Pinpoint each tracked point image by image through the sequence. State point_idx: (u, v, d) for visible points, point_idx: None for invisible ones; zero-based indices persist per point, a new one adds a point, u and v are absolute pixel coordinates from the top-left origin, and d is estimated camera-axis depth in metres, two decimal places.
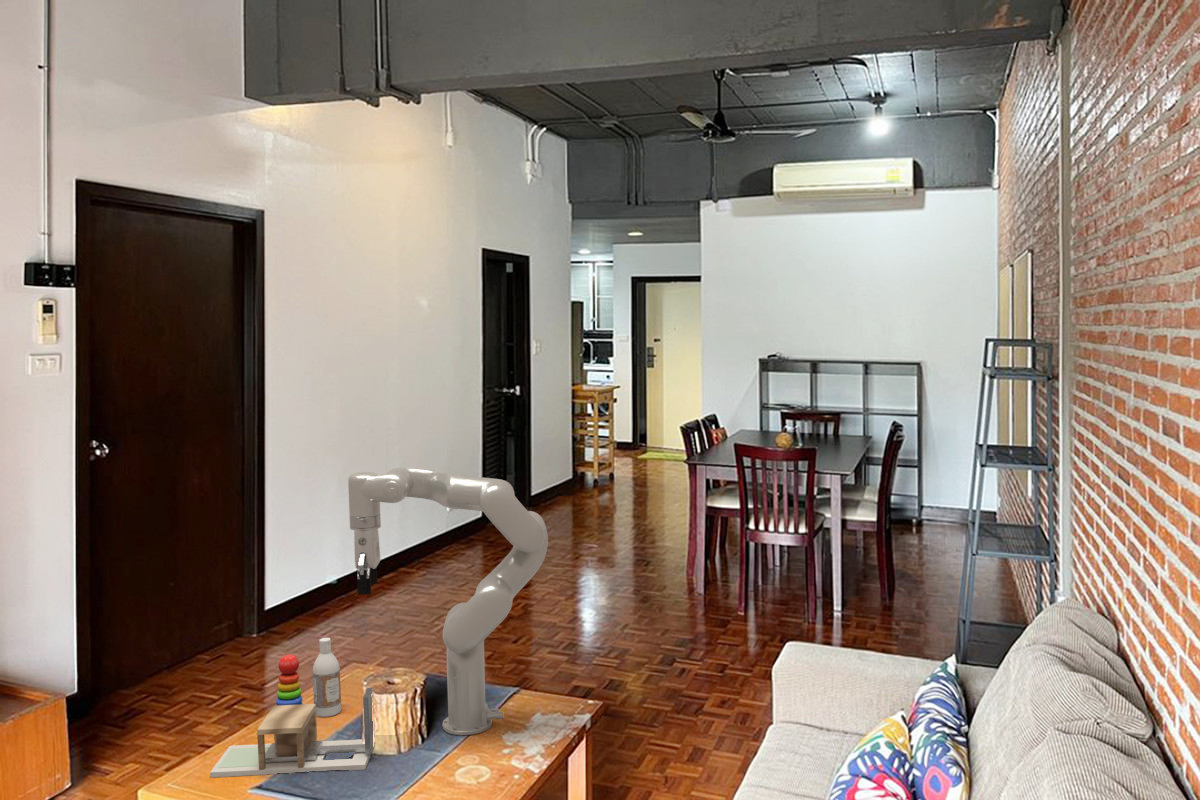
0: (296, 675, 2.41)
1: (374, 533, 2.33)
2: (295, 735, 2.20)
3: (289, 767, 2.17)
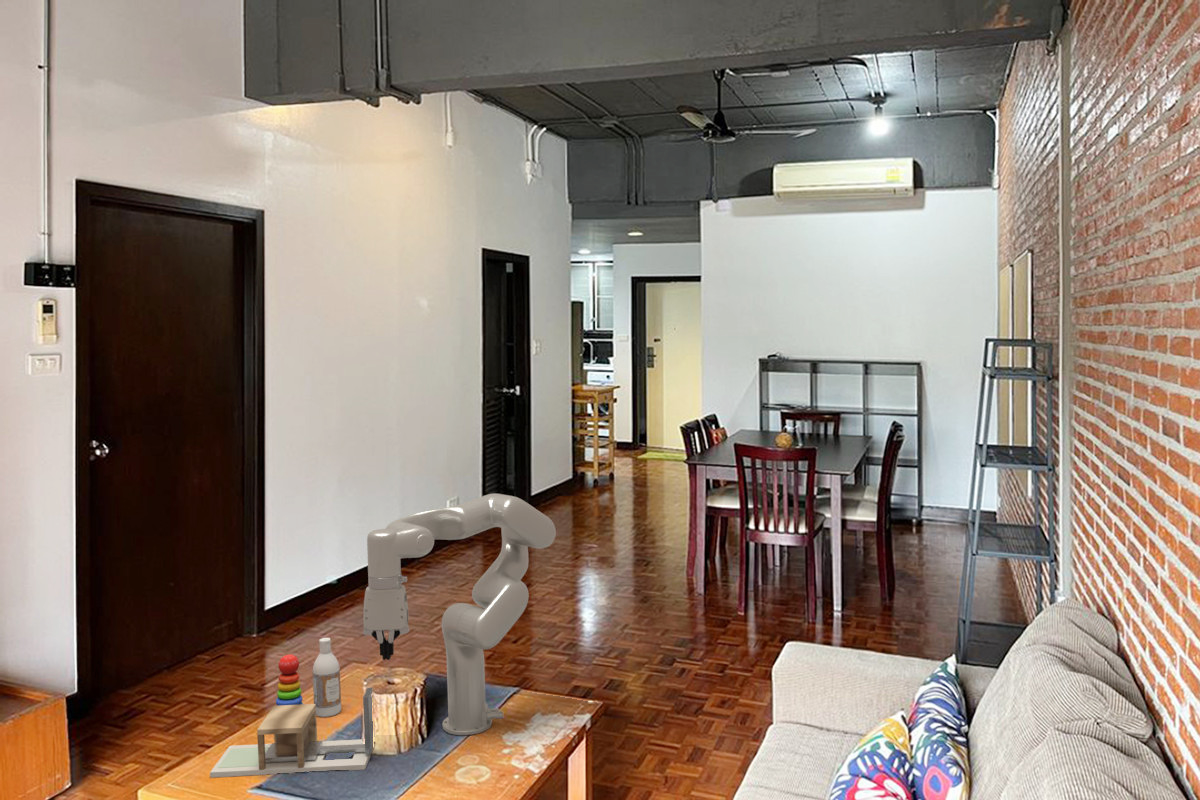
0: (296, 675, 2.41)
1: None
2: (295, 735, 2.20)
3: (289, 767, 2.17)
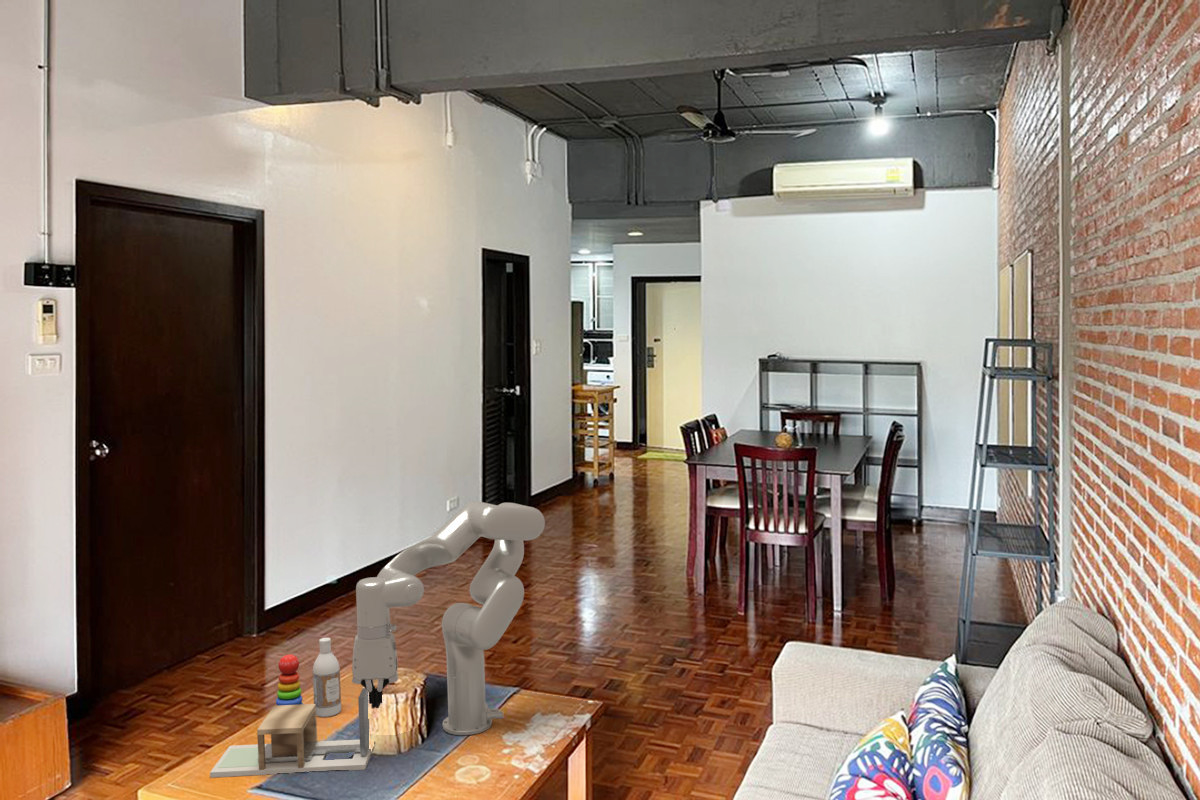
0: (296, 675, 2.41)
1: None
2: (290, 735, 2.20)
3: (289, 767, 2.17)
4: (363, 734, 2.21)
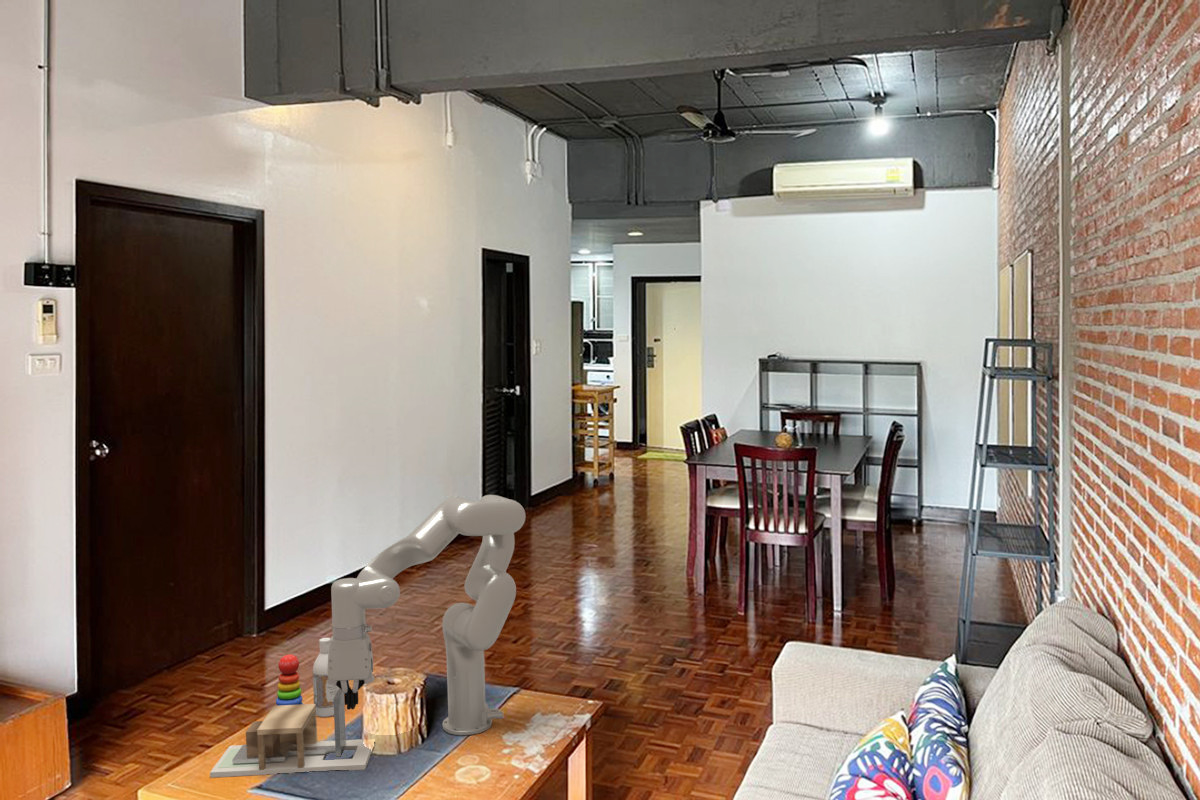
0: (296, 675, 2.41)
1: None
2: (265, 736, 2.19)
3: (289, 767, 2.17)
4: (338, 735, 2.21)
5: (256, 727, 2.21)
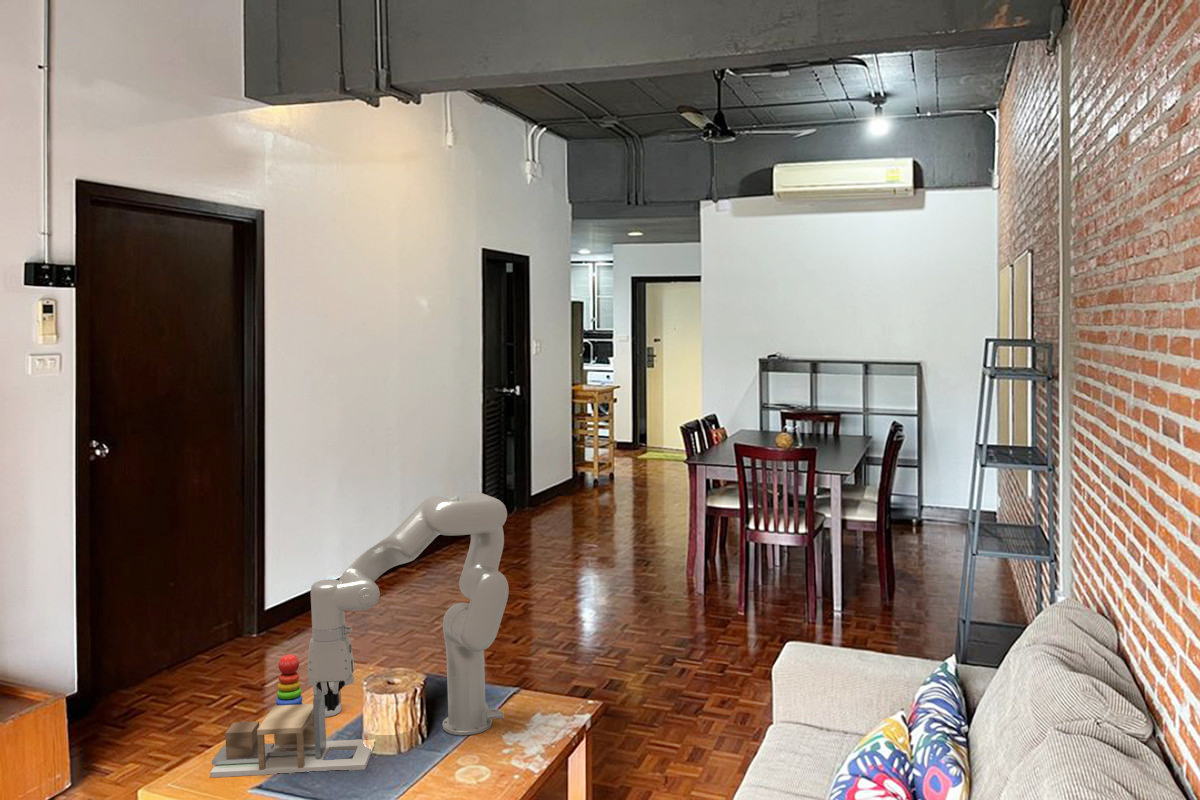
0: (296, 675, 2.41)
1: None
2: (245, 737, 2.19)
3: (289, 767, 2.17)
4: (318, 736, 2.20)
5: (236, 728, 2.21)
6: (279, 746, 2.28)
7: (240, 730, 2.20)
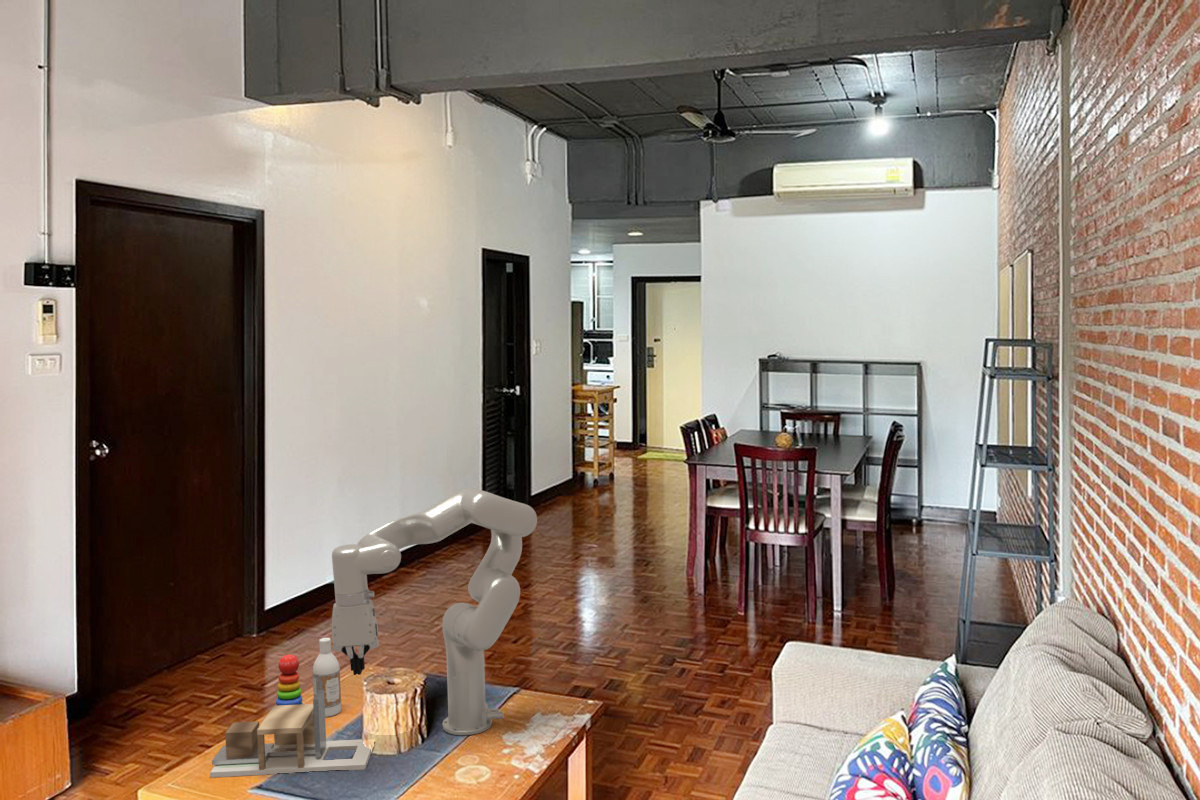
0: (296, 675, 2.41)
1: None
2: (245, 737, 2.19)
3: (289, 767, 2.17)
4: (318, 736, 2.20)
5: (236, 728, 2.21)
6: (279, 746, 2.28)
7: (240, 730, 2.20)
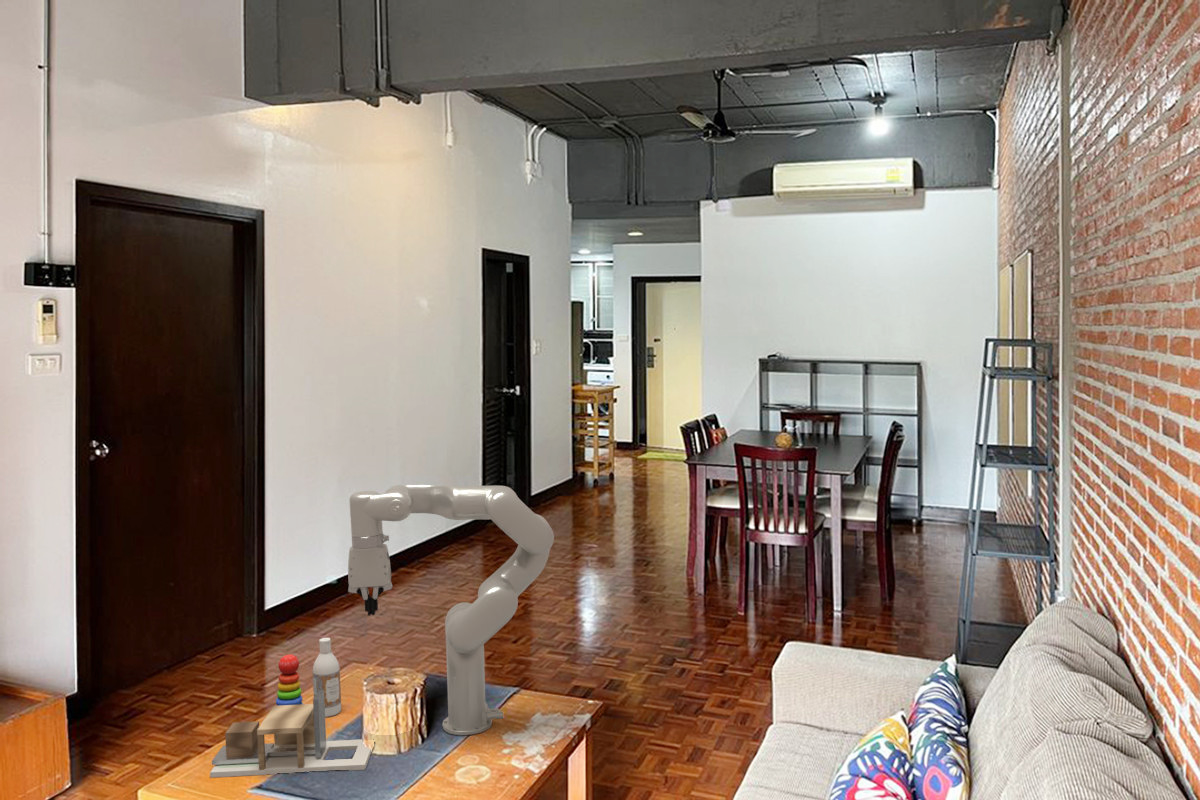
0: (296, 675, 2.41)
1: None
2: (245, 737, 2.19)
3: (289, 767, 2.17)
4: (318, 736, 2.20)
5: (236, 728, 2.21)
6: (279, 746, 2.28)
7: (240, 730, 2.20)
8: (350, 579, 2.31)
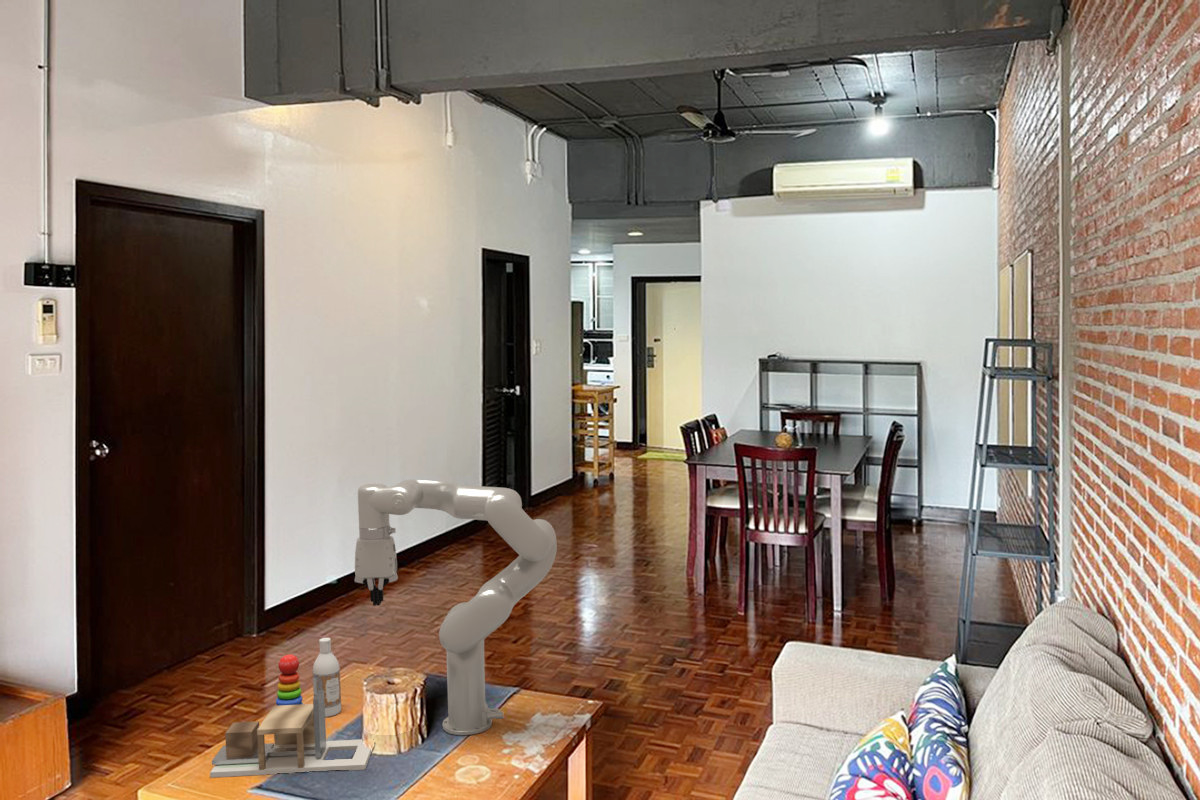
0: (296, 675, 2.41)
1: None
2: (245, 737, 2.19)
3: (289, 767, 2.17)
4: (318, 736, 2.20)
5: (236, 728, 2.21)
6: (279, 746, 2.28)
7: (240, 730, 2.20)
8: (356, 569, 2.36)
